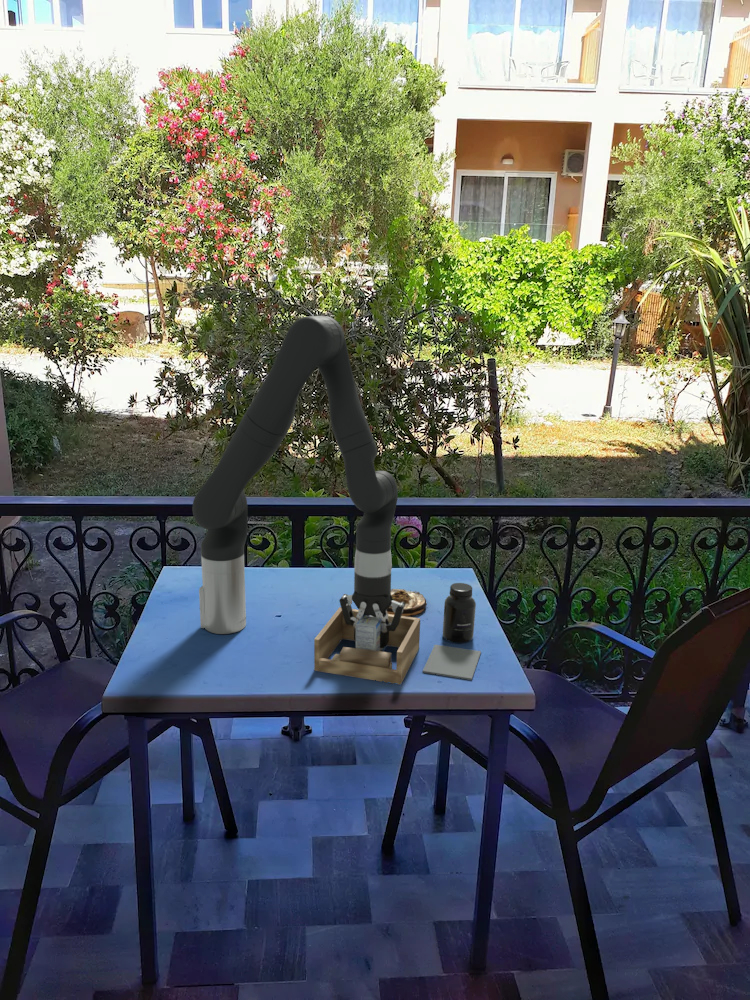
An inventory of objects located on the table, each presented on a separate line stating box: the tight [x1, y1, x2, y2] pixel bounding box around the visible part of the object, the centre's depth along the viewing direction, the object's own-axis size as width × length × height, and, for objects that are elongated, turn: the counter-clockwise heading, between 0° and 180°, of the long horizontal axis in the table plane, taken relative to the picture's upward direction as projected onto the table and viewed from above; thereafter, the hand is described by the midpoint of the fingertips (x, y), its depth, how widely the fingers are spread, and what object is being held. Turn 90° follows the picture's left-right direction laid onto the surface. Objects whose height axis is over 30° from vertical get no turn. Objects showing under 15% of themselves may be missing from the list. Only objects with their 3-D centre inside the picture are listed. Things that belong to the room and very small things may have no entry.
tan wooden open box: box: [313, 606, 421, 685], centre depth 166 cm, size 18×16×7 cm
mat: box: [422, 644, 482, 681], centre depth 166 cm, size 10×12×1 cm
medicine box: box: [355, 615, 387, 652], centre depth 168 cm, size 8×4×9 cm, turn 162°
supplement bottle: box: [442, 582, 477, 644], centre depth 176 cm, size 7×7×12 cm
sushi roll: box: [387, 588, 428, 617], centre depth 192 cm, size 15×15×4 cm
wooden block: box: [331, 646, 393, 669], centre depth 162 cm, size 12×3×4 cm, turn 74°
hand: (371, 644), depth 168 cm, fingers closed on medicine box, 4 cm apart
